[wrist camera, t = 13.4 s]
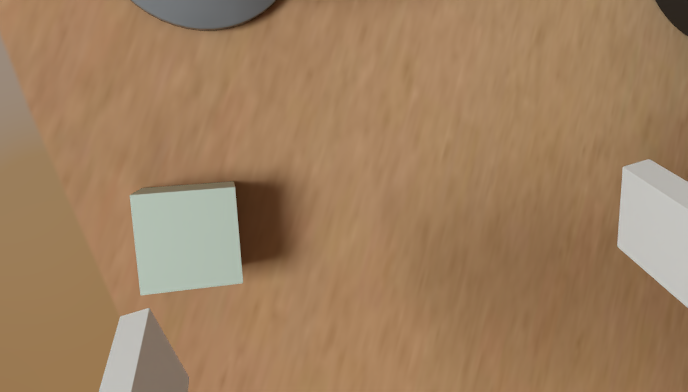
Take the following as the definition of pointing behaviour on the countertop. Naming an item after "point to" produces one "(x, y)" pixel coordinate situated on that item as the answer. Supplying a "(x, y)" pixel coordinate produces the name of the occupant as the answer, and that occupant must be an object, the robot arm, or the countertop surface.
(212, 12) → the slate coaster
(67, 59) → the countertop surface
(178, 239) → the grey-green painted block
